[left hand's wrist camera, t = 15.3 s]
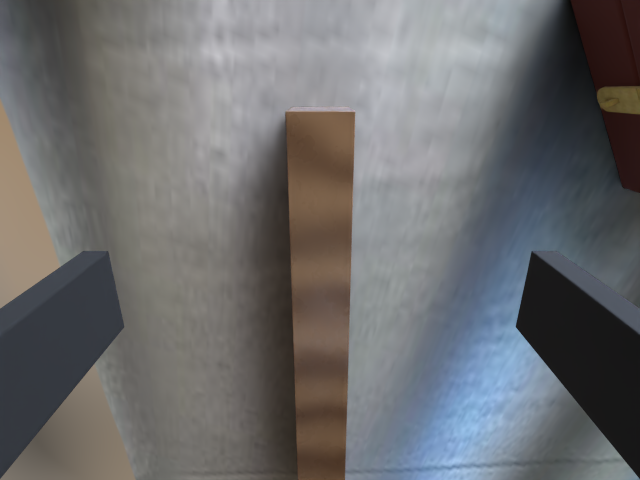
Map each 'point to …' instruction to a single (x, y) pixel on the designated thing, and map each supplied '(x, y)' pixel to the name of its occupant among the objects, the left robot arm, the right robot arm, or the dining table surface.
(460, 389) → the dining table surface
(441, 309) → the dining table surface
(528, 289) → the left robot arm
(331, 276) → the beam
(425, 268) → the dining table surface
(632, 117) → the box
